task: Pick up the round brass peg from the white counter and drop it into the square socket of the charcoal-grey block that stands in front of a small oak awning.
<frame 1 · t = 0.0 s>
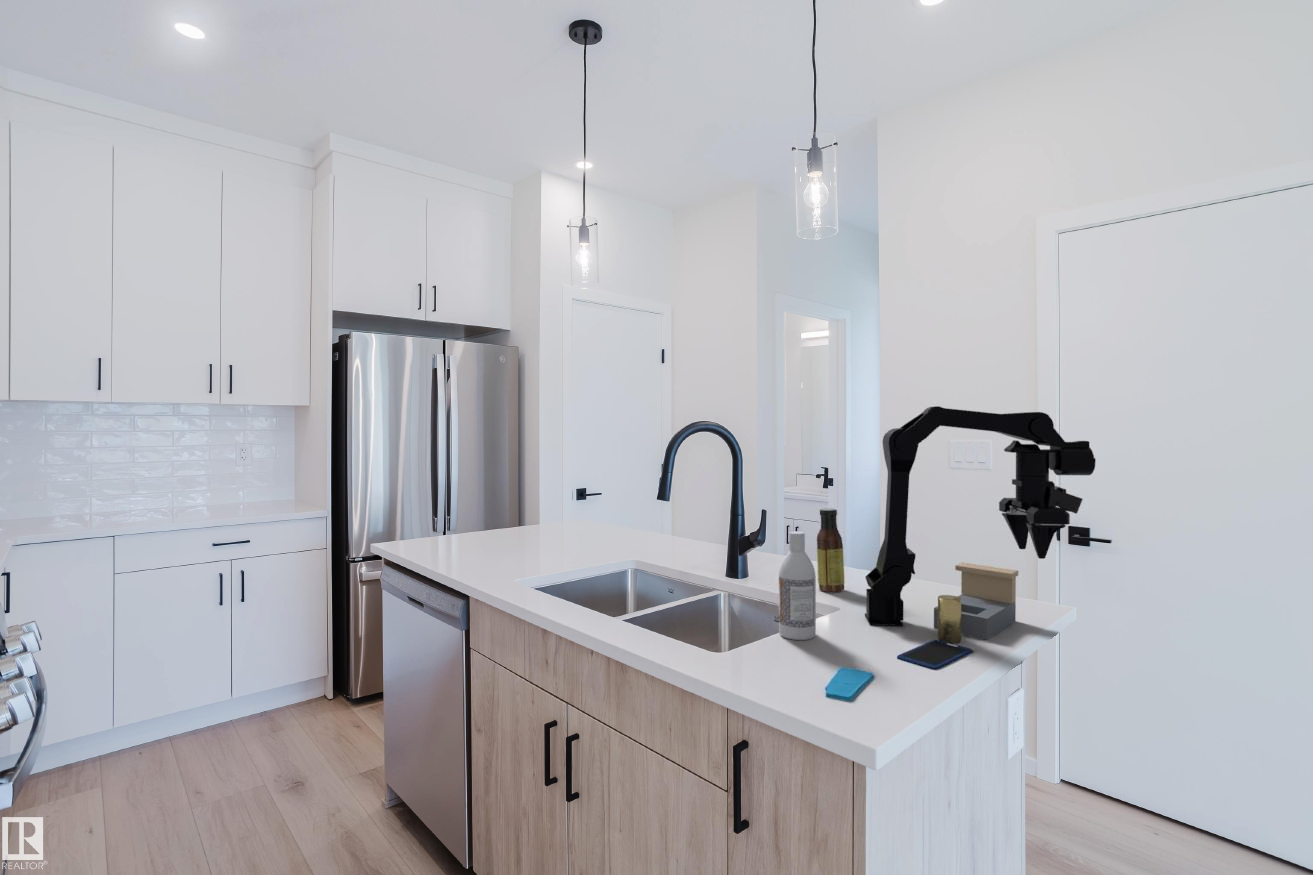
hand: (1031, 553, 129), 15 cm above the worktop, tool pointing down, fingers open, 9 cm apart
socket block: (975, 624, 132), on the worktop
peg: (949, 639, 123), on the worktop
cell phone: (935, 657, 115), on the worktop
sponge: (844, 689, 103), on the worktop
sauce bottle: (830, 590, 159), on the worktop
bath foam: (797, 636, 126), on the worktop
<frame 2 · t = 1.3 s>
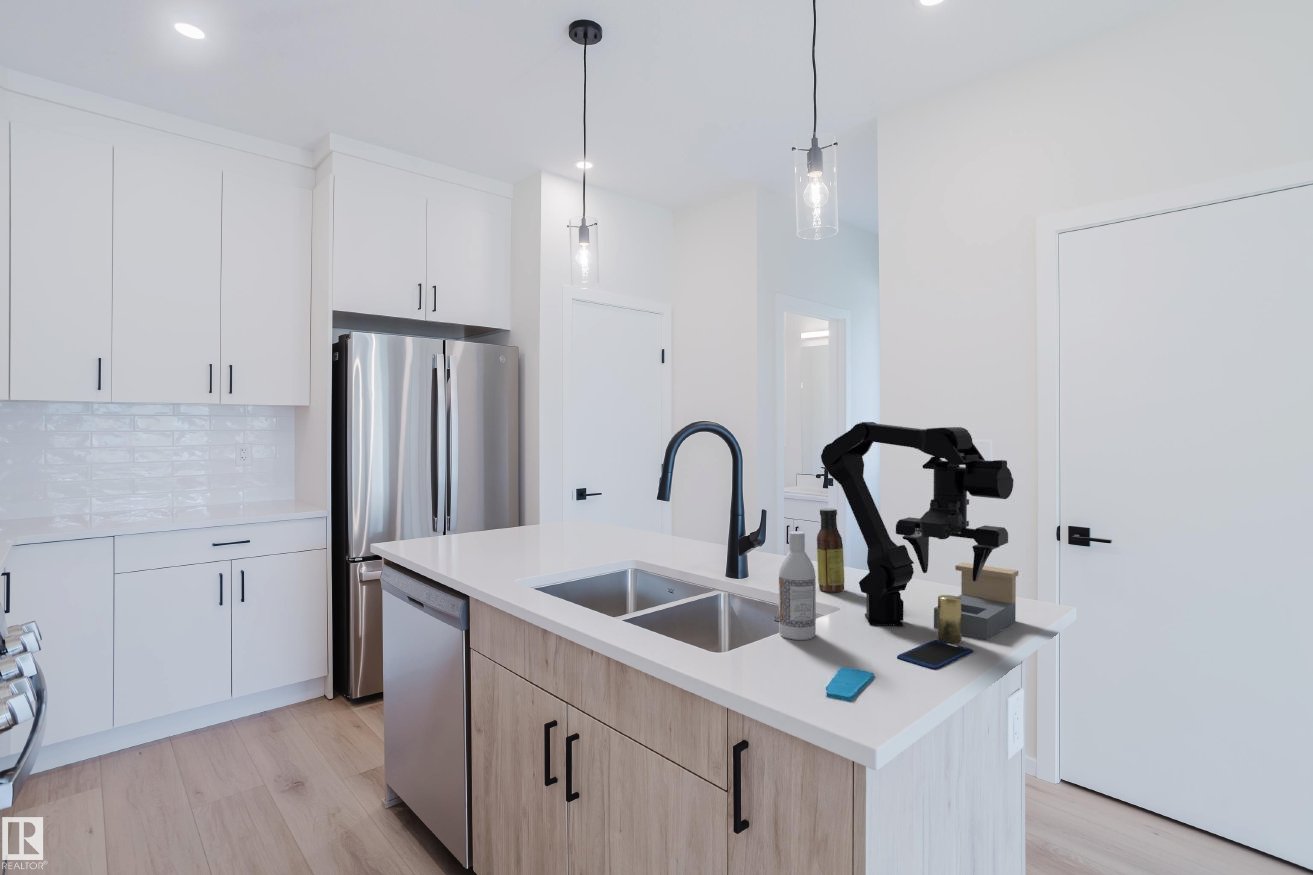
hand: (949, 576, 122), 12 cm above the worktop, tool pointing down, fingers open, 9 cm apart
nothing on the worktop moved.
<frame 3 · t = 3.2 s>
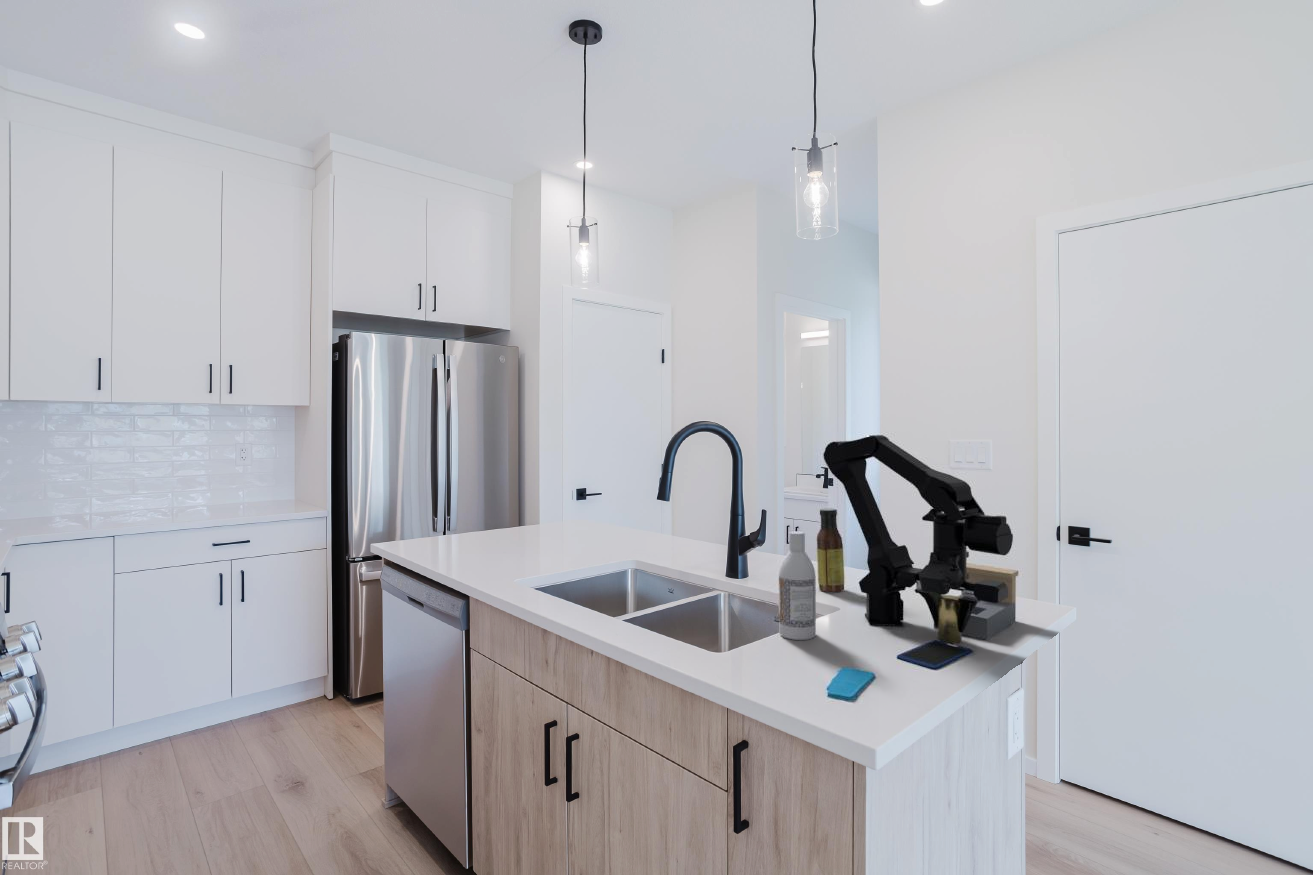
hand: (949, 629, 123), 2 cm above the worktop, tool pointing down, fingers closed on peg, 4 cm apart
peg: (949, 639, 123), on the worktop, touching gripper
everything else where it was.
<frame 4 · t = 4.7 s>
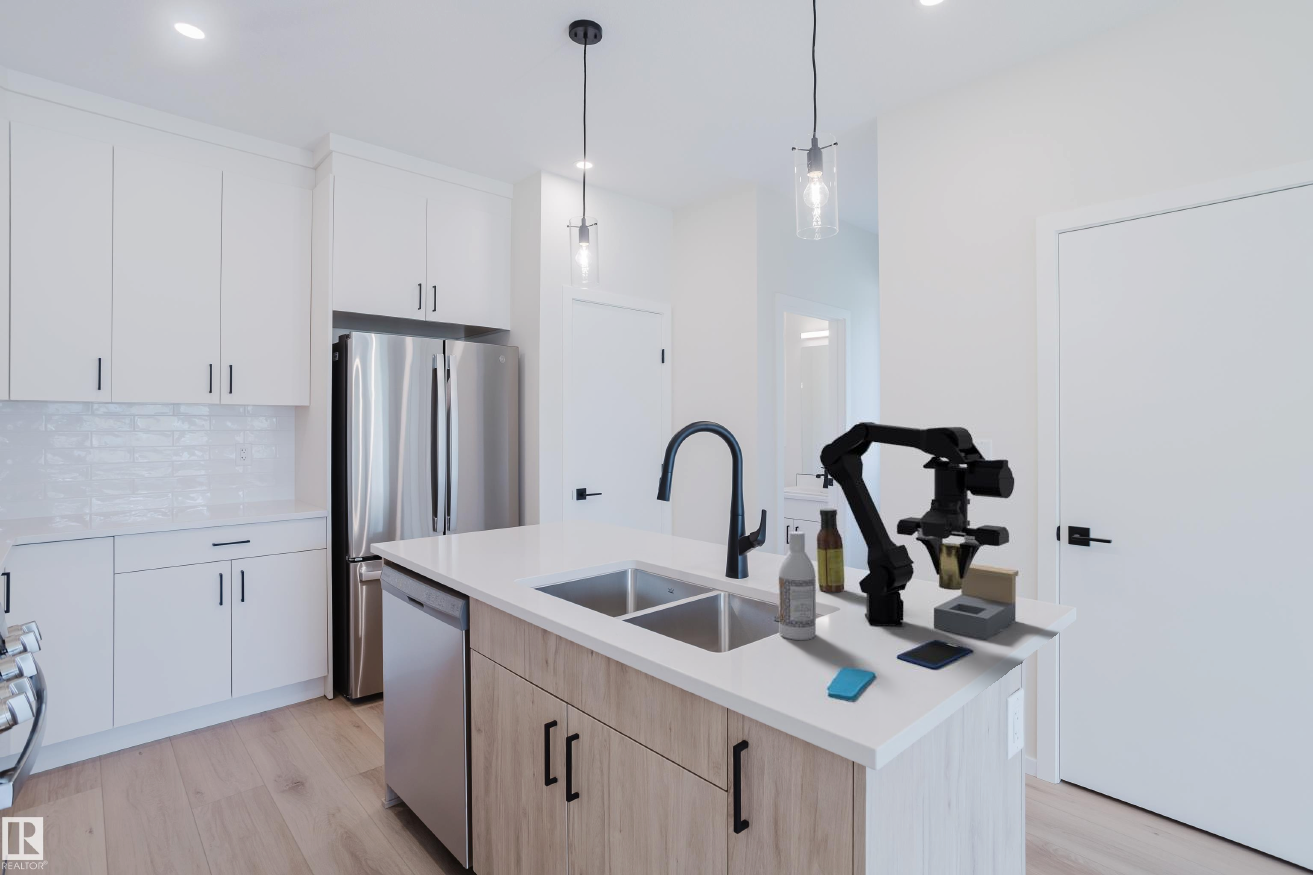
hand: (950, 576, 123), 12 cm above the worktop, tool pointing down, fingers closed on peg, 4 cm apart
peg: (950, 587, 123), point 10 cm above the worktop, touching gripper
everything else where it was.
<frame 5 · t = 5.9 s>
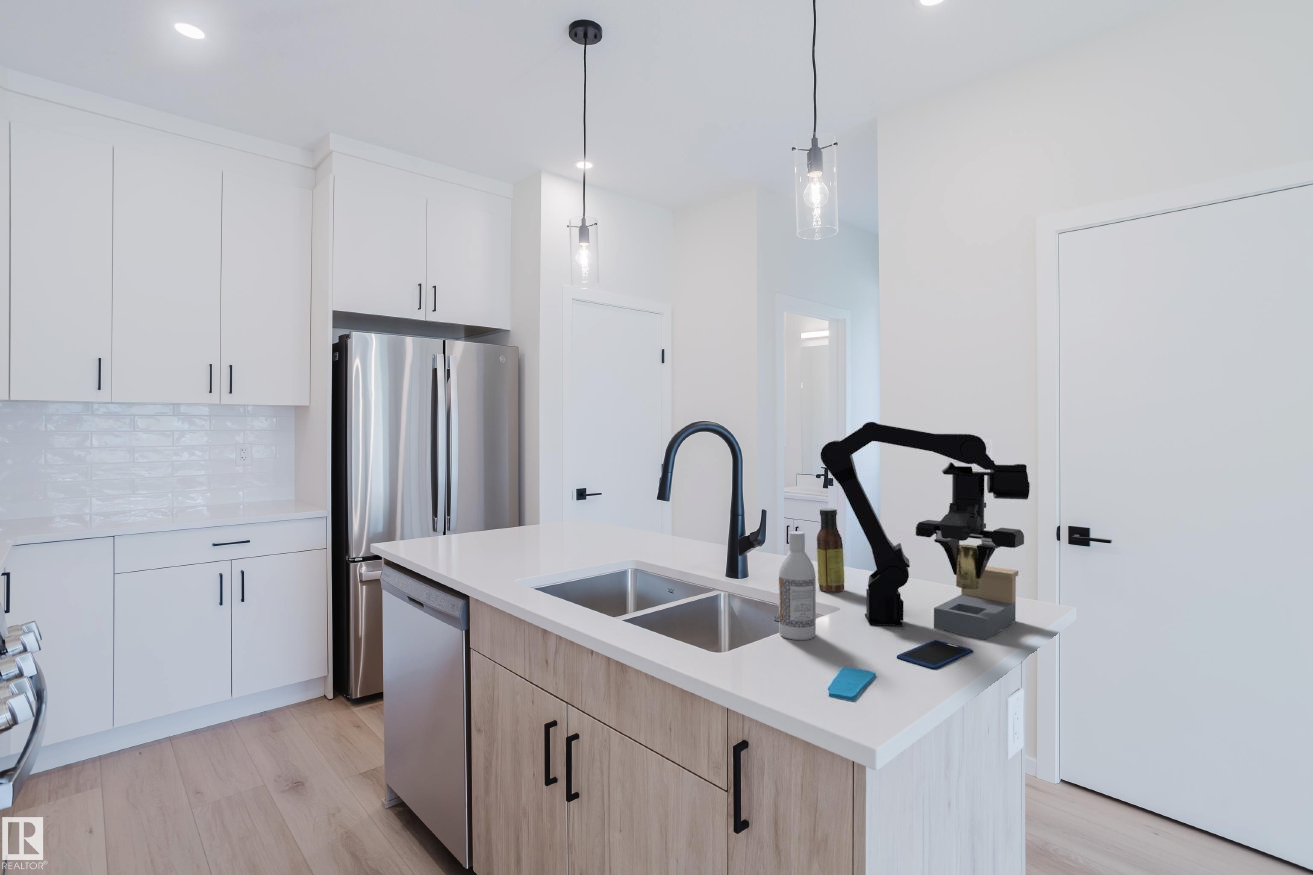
hand: (967, 576, 129), 10 cm above the worktop, tool pointing down, fingers closed on peg, 4 cm apart
peg: (967, 586, 129), point 8 cm above the worktop, touching gripper
everything else where it was.
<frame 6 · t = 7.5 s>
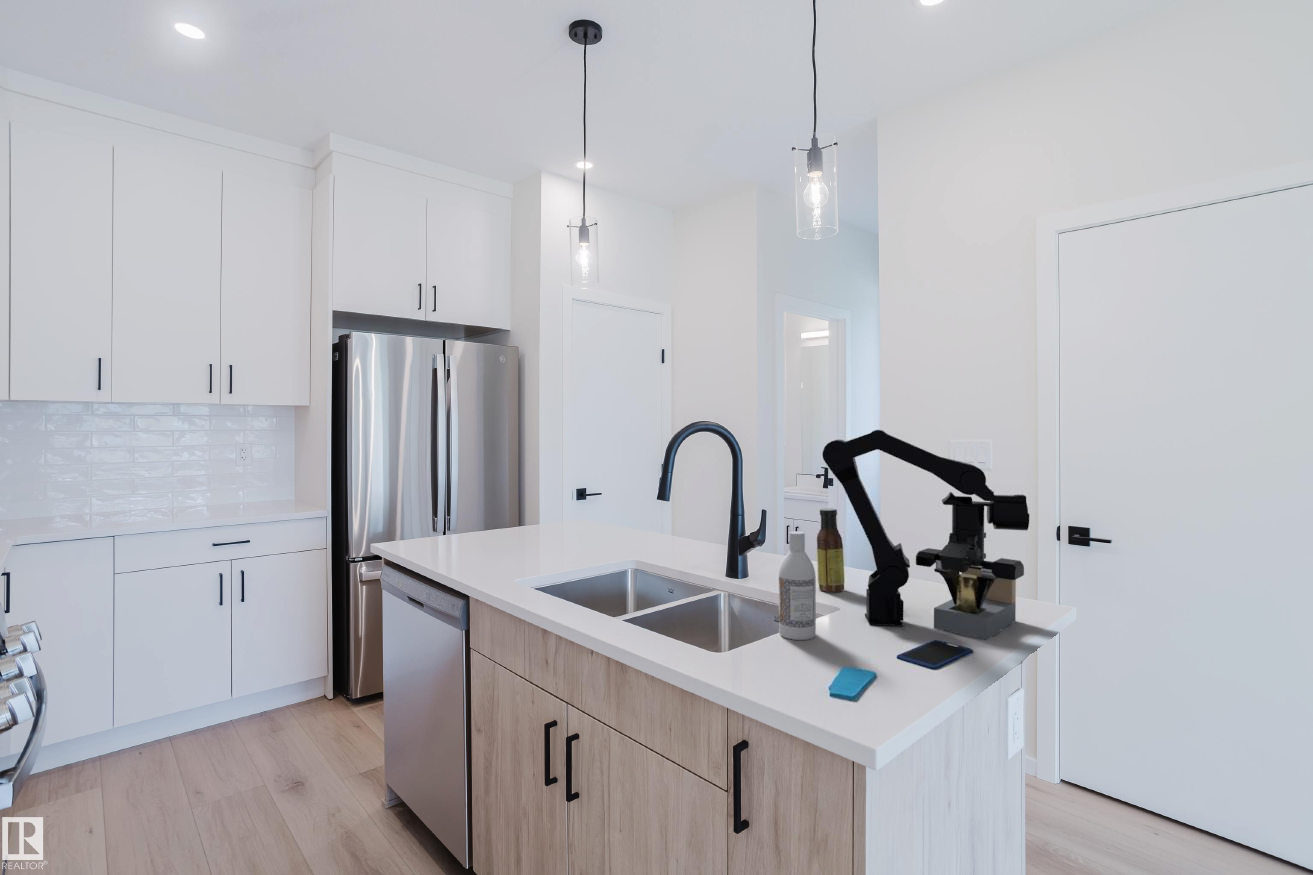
hand: (967, 606, 129), 4 cm above the worktop, tool pointing down, fingers closed on peg, 4 cm apart
peg: (967, 616, 129), point 2 cm above the worktop, touching gripper
everything else where it was.
when the fingers open (4 cm above the worktop, at t = 7.8 s): peg drops 1 cm, resting on socket block.
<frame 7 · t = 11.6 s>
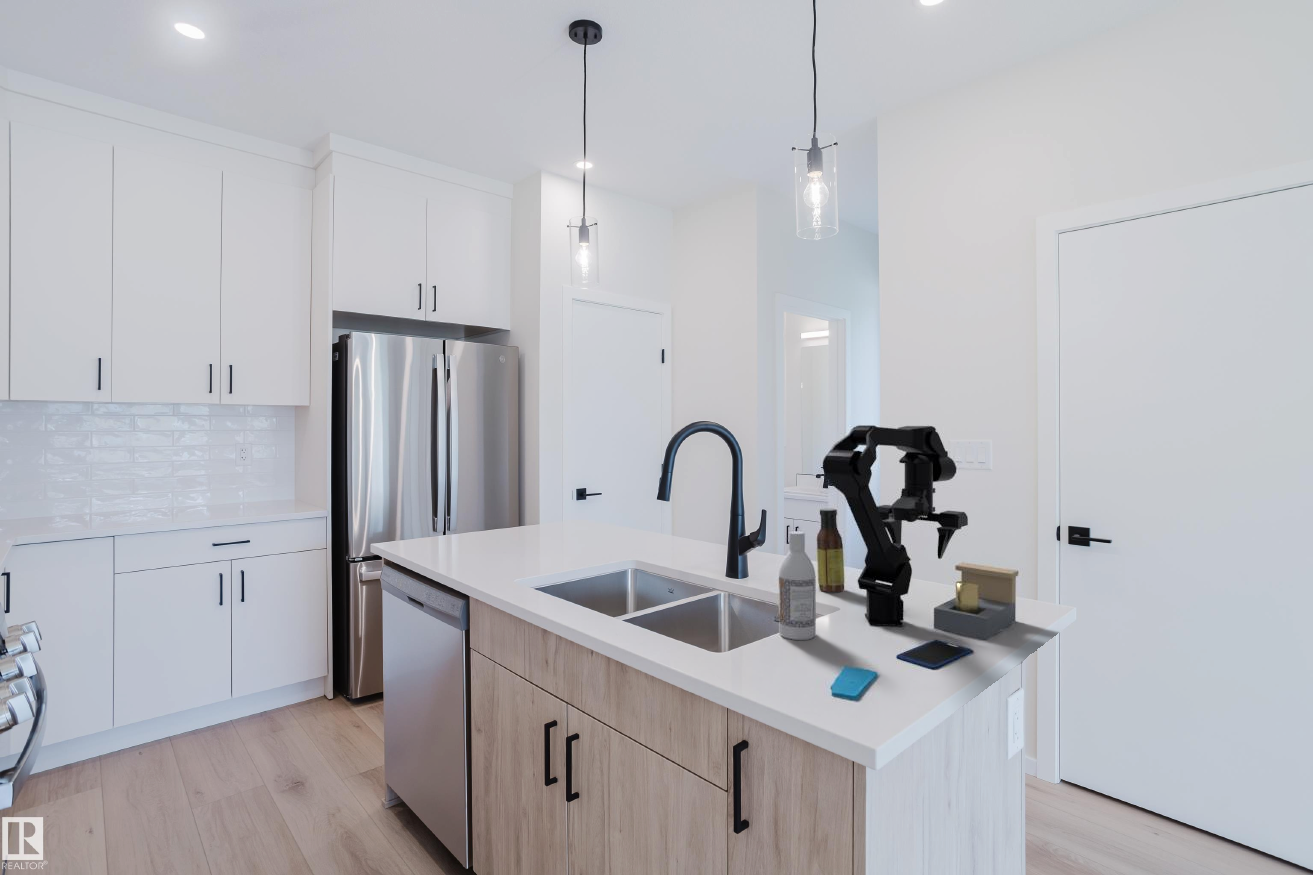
hand: (918, 555, 141), 12 cm above the worktop, tool pointing down, fingers open, 9 cm apart
peg: (967, 623, 129), point 1 cm above the worktop, touching socket block
everything else where it was.
at the end: peg 0.1 cm from the target spot, point 1.0 cm above the worktop; peg tilted 1°; the gripper is holding nothing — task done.
